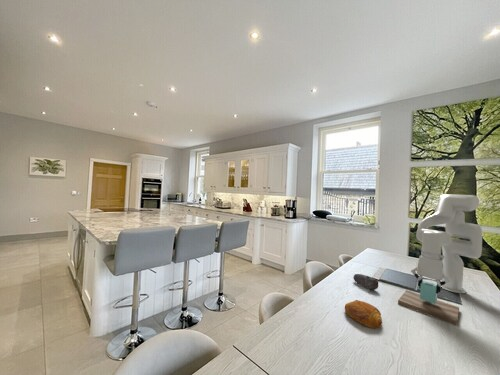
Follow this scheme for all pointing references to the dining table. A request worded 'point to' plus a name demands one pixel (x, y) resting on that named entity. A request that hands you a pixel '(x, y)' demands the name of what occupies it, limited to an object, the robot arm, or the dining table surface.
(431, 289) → the teal block
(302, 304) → the dining table surface
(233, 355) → the dining table surface
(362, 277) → the perforated stone tool
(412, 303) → the stud board
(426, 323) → the dining table surface
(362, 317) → the croissant
